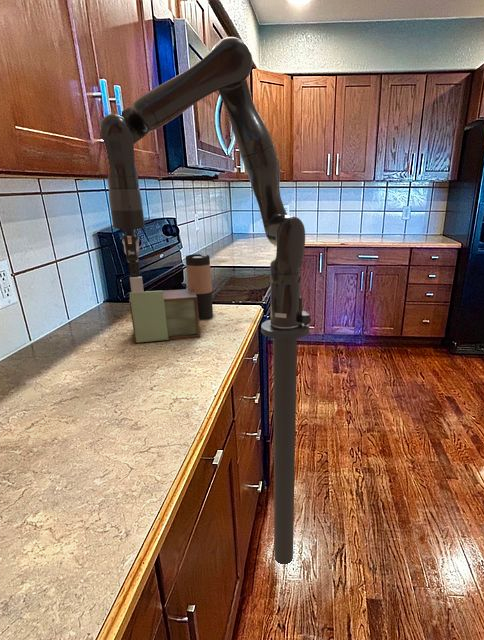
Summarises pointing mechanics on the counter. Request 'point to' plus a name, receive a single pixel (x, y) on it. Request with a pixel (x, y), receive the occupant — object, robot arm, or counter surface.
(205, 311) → the travel mug
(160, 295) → the sliding door
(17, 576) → the counter surface
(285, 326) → the robot arm
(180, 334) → the cabinet
